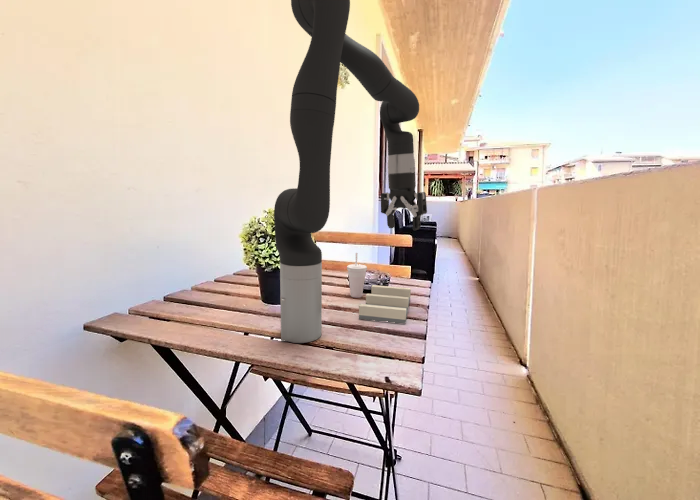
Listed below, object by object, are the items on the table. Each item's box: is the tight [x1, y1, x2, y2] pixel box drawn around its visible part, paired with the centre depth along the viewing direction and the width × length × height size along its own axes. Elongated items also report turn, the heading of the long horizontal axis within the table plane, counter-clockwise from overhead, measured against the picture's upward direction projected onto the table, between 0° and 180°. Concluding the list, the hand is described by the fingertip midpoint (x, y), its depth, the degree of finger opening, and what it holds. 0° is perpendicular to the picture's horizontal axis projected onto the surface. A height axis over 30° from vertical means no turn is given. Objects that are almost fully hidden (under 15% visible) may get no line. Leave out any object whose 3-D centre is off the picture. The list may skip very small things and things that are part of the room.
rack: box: [358, 284, 412, 324], centre depth 96 cm, size 20×12×4 cm, turn 166°
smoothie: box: [346, 252, 368, 299], centre depth 106 cm, size 6×6×14 cm
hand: (403, 228), depth 97 cm, fingers open, 8 cm apart
